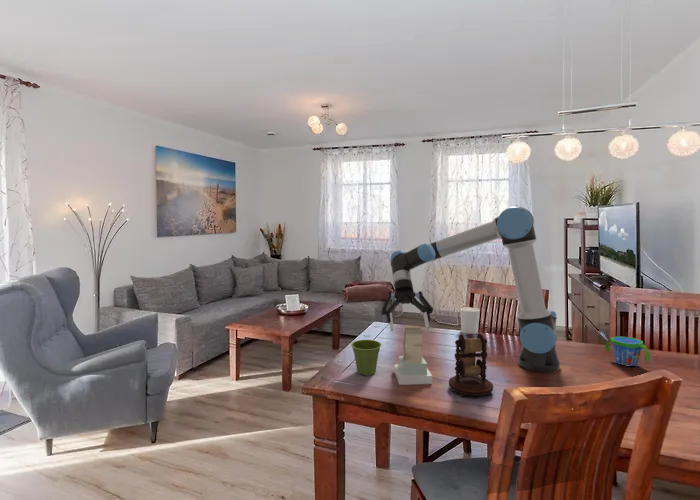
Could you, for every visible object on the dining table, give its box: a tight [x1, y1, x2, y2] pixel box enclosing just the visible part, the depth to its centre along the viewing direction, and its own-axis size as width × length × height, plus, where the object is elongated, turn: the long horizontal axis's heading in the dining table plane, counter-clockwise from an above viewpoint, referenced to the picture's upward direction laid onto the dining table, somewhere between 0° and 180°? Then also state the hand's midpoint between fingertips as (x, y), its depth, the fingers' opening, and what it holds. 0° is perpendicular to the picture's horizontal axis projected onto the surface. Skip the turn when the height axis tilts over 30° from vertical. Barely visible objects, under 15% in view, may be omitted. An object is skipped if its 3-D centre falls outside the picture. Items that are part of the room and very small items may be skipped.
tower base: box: [393, 355, 433, 386], centre depth 148 cm, size 12×12×7 cm
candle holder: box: [460, 306, 481, 335], centre depth 207 cm, size 10×10×12 cm
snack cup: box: [604, 335, 650, 367], centre depth 159 cm, size 16×10×10 cm
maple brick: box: [402, 325, 423, 363], centre depth 148 cm, size 6×6×12 cm
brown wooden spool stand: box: [448, 332, 494, 398], centre depth 137 cm, size 15×15×20 cm
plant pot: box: [350, 339, 382, 376], centre depth 154 cm, size 12×12×11 cm
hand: (410, 329), depth 150 cm, fingers open, 13 cm apart
